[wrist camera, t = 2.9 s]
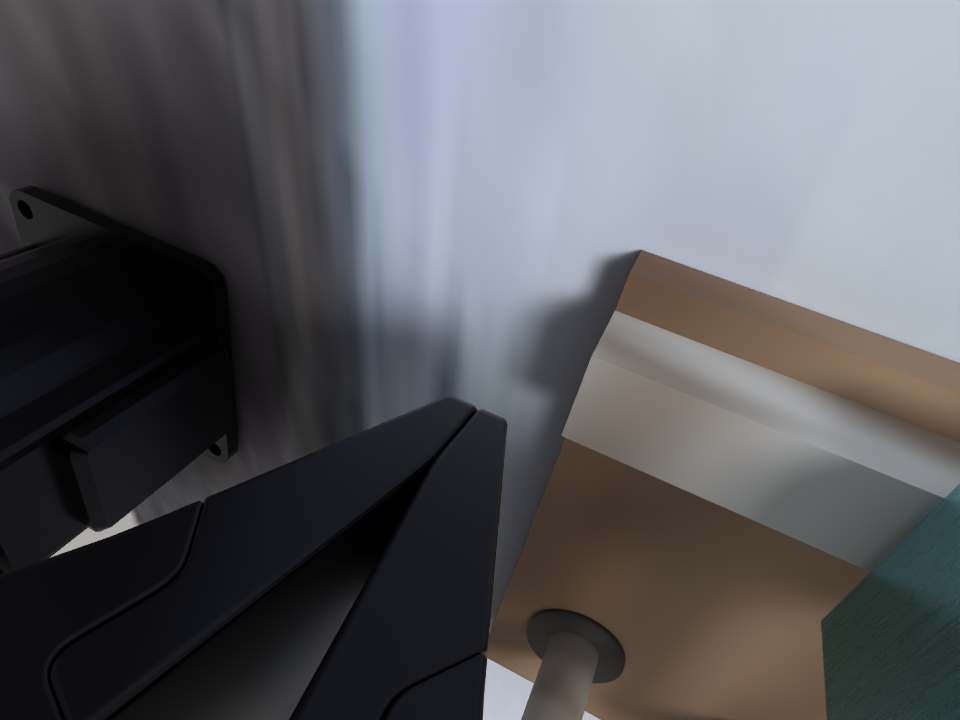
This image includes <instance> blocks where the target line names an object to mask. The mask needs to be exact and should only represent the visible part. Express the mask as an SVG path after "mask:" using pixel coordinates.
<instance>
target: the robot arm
mask: <svg viewBox="0 0 960 720" xmlns="http://www.w3.org/2000/svg"><path fill="white" fill-rule="evenodd" d="M10 201H11V206H12V209H13V212H14V216H15V219H16V223H17V226H18V229H19V233H20V236H21V240H22V243H23V246H24V247H23V248H20V249H17V250H14V251H11V252H8V253H6V254H3V255H0V720H483V703H484V689H485V678H486V667H487V658H486V653H487V650H488V639H489V628H490V616H491V605H492V593H493V582H494V571H495V559H496V548H497V536H498V525H499V513H500V502H501V490H502V479H503V467H504V456H505V444H506V433H507V422H506V420H505V419H504V418H501V417H499V416H497V415H495V414H492V413H490V412H488V411H486V410H483V409H482V410H478V411H477V409H476V407H475V406H474V405H472V404H470V403H468V402H465V401H463V400H461V399H459V398H456V397H454V396H447V397H444V398H442V399H439V400H437V401H434V402H432V403H430V404H427V405H425V406H423V407H420V408H418V409H416V410H413V411H411V412H408V413H406V414H404V415H401V416H399V417H397V418H394V419H392V420H389V421H387V422H385V423H382V424H380V425H378V426H375V427H373V428H371V429H368V430H366V431H363V432H361V433H359V434H356V435H354V436H352V437H349V438H347V439H344V440H342V441H340V442H337V443H335V444H333V445H330V446H328V447H326V448H323V449H321V450H318V451H316V452H314V453H311V454H309V455H307V456H304V457H302V458H299V459H297V460H295V461H292V462H290V463H288V464H285V465H283V466H281V467H278V468H276V469H273V470H271V471H269V472H266V473H264V474H262V475H259V476H257V477H254V478H252V479H250V480H247V481H245V482H243V483H240V484H238V485H236V486H233V487H231V488H228V489H226V490H224V491H221V492H219V493H217V494H214V495H212V496H209V497H207V498H206V499H205V501H204V504H203V503H202V502H201V501H197V502H195V503H192V504H190V505H188V506H185V507H183V508H180V509H178V510H176V511H173V512H171V513H169V514H166V515H164V516H161V517H159V518H156V519H154V520H151V521H149V522H146V523H144V524H141V525H139V526H136V527H133V528H131V529H128V530H126V531H124V532H121V533H118V534H116V535H113V536H111V537H108V538H105V539H102V540H100V541H97V542H94V543H91V544H88V545H85V546H82V547H79V548H77V549H74V550H71V551H68V552H65V553H62V554H60V555H57V556H54V557H51V556H52V555H53V554H55V553H56V552H57V551H58V550H60V549H61V548H62V547H64V546H65V545H66V544H67V543H69V542H70V541H71V540H72V539H74V538H75V537H76V536H77V535H79V534H80V533H81V532H83V531H84V530H85V529H87V528H90V529H92V530H93V531H95V532H98V531H103V530H105V529H107V528H110V527H112V526H113V525H114V524H115V523H117V522H118V521H119V520H120V519H122V518H123V517H124V516H125V515H127V514H128V513H129V512H130V511H132V510H133V509H134V508H135V507H137V506H138V505H139V504H140V503H142V502H143V501H144V500H145V499H146V498H148V497H149V496H150V495H151V494H153V493H154V492H155V491H156V490H158V489H159V488H160V487H161V486H162V485H164V484H165V483H166V482H167V481H169V480H170V479H171V478H172V477H174V476H175V475H176V474H177V473H179V472H180V471H181V470H182V469H183V468H185V467H186V466H187V465H188V464H190V463H191V462H192V461H193V460H195V459H196V458H197V457H198V456H200V455H201V454H204V455H206V456H208V457H210V458H212V459H214V460H216V461H218V462H226V461H227V460H228V459H229V458H230V457H231V456H233V455H234V454H235V453H236V452H237V451H238V440H237V426H236V412H235V399H234V385H233V371H232V358H231V344H230V330H229V317H228V303H227V289H226V283H225V279H224V278H223V276H222V274H221V272H220V271H219V270H218V269H217V268H216V266H215V265H213V264H212V263H210V262H208V261H206V260H204V259H202V258H199V257H197V256H195V255H192V254H190V253H188V252H185V251H183V250H181V249H179V248H176V247H174V246H172V245H169V244H167V243H165V242H162V241H160V240H158V239H155V238H153V237H151V236H148V235H146V234H144V233H141V232H139V231H137V230H134V229H132V228H130V227H128V226H125V225H123V224H121V223H118V222H116V221H114V220H111V219H109V218H107V217H104V216H102V215H100V214H97V213H95V212H93V211H90V210H88V209H86V208H83V207H81V206H79V205H77V204H74V203H72V202H70V201H67V200H65V199H63V198H60V197H58V196H56V195H53V194H51V193H49V192H46V191H44V190H42V189H39V188H37V187H34V186H28V187H24V188H20V189H17V190H14V191H12V192H11V194H10ZM50 557H51V558H50Z"/></svg>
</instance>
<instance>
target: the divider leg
mask: <svg viewBox="0 0 960 720" xmlns="http://www.w3.org/2000/svg"><path fill="white" fill-rule="evenodd" d="M821 631H822V648H823V664H824V681H825V698H826V714H827V720H960V484H959V485H958V486H957V487H956V488H955V489H954V490H953V491H952V492H951V493H950V494H949V495H947V496H946V497H945V498H944V499H943V500H942V501H941V502H940V503H939V504H938V505H937V506H936V507H935V508H934V509H933V510H932V511H931V512H930V513H929V514H928V515H927V516H926V517H925V518H924V519H923V520H922V521H921V522H920V523H919V524H918V525H917V526H916V527H915V528H914V529H913V530H912V531H911V532H910V533H909V534H908V535H907V536H906V537H905V538H904V539H903V540H902V541H901V542H900V543H899V544H898V545H897V546H896V547H895V548H894V549H893V550H892V551H891V552H890V553H889V554H888V555H887V556H886V557H885V558H884V559H883V560H882V561H881V562H880V563H879V564H878V565H877V566H876V567H875V568H874V569H873V570H872V571H871V572H870V573H869V574H868V575H867V576H866V577H865V578H864V579H863V580H862V581H861V582H860V583H859V584H858V585H857V586H856V587H855V588H854V589H853V590H852V591H851V592H850V593H849V594H848V595H847V596H846V597H845V598H844V599H842V600H841V601H840V602H839V603H838V604H837V605H836V606H835V607H834V608H833V609H832V610H831V611H830V612H829V613H828V614H827V615H826V616H825V617H824V618H823V619H822V620H821Z"/></svg>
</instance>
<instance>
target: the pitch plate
mask: <svg viewBox="0 0 960 720" xmlns="http://www.w3.org/2000/svg"><path fill="white" fill-rule="evenodd" d="M561 436H563V437H565V440H564V443H563V445H562V448H561V450H560V453H559V456H558V458H557V461H556V463H555V466H554V468H553V471H552V474H551V476H550V479H549V481H548V484H547V486H546V489H545V492H544V494H543V497H542V499H541V502H540V504H539V507H538V510H537V512H536V515H535V517H534V520H533V522H532V525H531V528H530V530H529V533H528V535H527V538H526V540H525V543H524V546H523V548H522V551H521V553H520V556H519V558H518V561H517V563H516V566H515V569H514V571H513V574H512V576H511V579H510V581H509V584H508V587H507V589H506V592H505V594H504V597H503V599H502V602H501V605H500V607H499V610H498V612H497V615H496V617H495V620H494V623H493V625H492V628H491V630H490V633H489V639H488V650H487V653H486V657H487V658H488V659H490V660H492V661H494V662H496V663H498V664H500V665H501V666H503V667H505V668H507V669H509V670H511V671H512V672H514V673H516V674H518V675H520V676H522V677H523V678H525V679H527V680H529V681H531V682H533V683H534V685H533V688H532V691H531V694H530V697H529V699H528V702H527V705H526V708H525V711H524V714H523V716H522V719H521V720H582V717H583V714H584V711H586V712H588V713H590V714H592V715H594V716H595V717H597V718H599V719H601V720H827V714H826V698H825V681H824V664H823V648H822V631H821V620H822V619H823V618H824V617H825V616H826V615H827V614H828V613H829V612H830V611H831V610H832V609H833V608H834V607H835V606H836V605H837V604H838V603H839V602H840V601H841V600H842V599H844V598H845V597H846V596H847V595H848V594H849V593H850V592H851V591H852V590H853V589H854V588H855V587H856V586H857V585H858V584H859V583H860V582H861V581H862V580H863V579H864V578H865V577H866V576H867V575H868V574H869V573H870V572H871V571H872V570H873V569H874V568H875V567H876V566H877V565H878V564H879V563H880V562H881V561H882V560H883V559H884V558H885V557H886V556H887V555H888V554H889V553H890V552H891V551H892V550H893V549H894V548H895V547H896V546H897V545H898V544H899V543H900V542H901V541H902V540H903V539H904V538H905V537H906V536H907V535H908V534H909V533H910V532H911V531H912V530H913V529H914V528H915V527H916V526H917V525H918V524H919V523H920V522H921V521H922V520H923V519H924V518H925V517H926V516H927V515H928V514H929V513H930V512H931V511H932V510H933V509H934V508H935V507H936V506H937V505H938V504H939V503H940V502H941V501H942V500H943V499H944V498H945V497H946V496H947V495H949V494H950V493H951V492H952V491H953V490H954V489H955V488H956V487H957V486H958V485H959V484H960V363H957V362H954V361H952V360H949V359H946V358H943V357H940V356H937V355H935V354H932V353H929V352H926V351H923V350H921V349H918V348H915V347H912V346H909V345H907V344H904V343H901V342H898V341H895V340H893V339H890V338H887V337H884V336H881V335H879V334H876V333H873V332H870V331H867V330H865V329H862V328H859V327H856V326H853V325H850V324H848V323H845V322H842V321H839V320H836V319H834V318H831V317H828V316H825V315H822V314H820V313H817V312H814V311H811V310H808V309H806V308H803V307H800V306H797V305H794V304H792V303H789V302H786V301H783V300H780V299H778V298H775V297H772V296H769V295H766V294H763V293H761V292H758V291H755V290H752V289H749V288H747V287H744V286H741V285H738V284H735V283H733V282H730V281H727V280H724V279H721V278H719V277H716V276H713V275H710V274H707V273H705V272H702V271H699V270H696V269H693V268H691V267H688V266H685V265H682V264H679V263H676V262H674V261H671V260H668V259H665V258H662V257H660V256H657V255H654V254H651V253H648V252H646V251H643V250H641V252H640V254H639V256H638V258H637V260H636V262H635V264H634V265H633V267H632V269H631V271H630V273H629V276H628V278H627V281H626V283H625V286H624V289H623V291H622V294H621V296H620V299H619V301H618V304H617V307H616V309H615V311H614V313H613V315H612V317H611V319H610V321H609V323H608V325H607V327H606V329H605V331H604V333H603V335H602V337H601V339H600V341H599V343H598V345H597V347H596V348H595V350H594V352H593V354H592V356H591V359H590V362H589V364H588V367H587V370H586V372H585V375H584V377H583V380H582V383H581V385H580V388H579V390H578V393H577V396H576V398H575V401H574V404H573V406H572V409H571V411H570V414H569V417H568V419H567V422H566V424H565V427H564V430H563V432H562V435H561Z"/></svg>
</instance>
